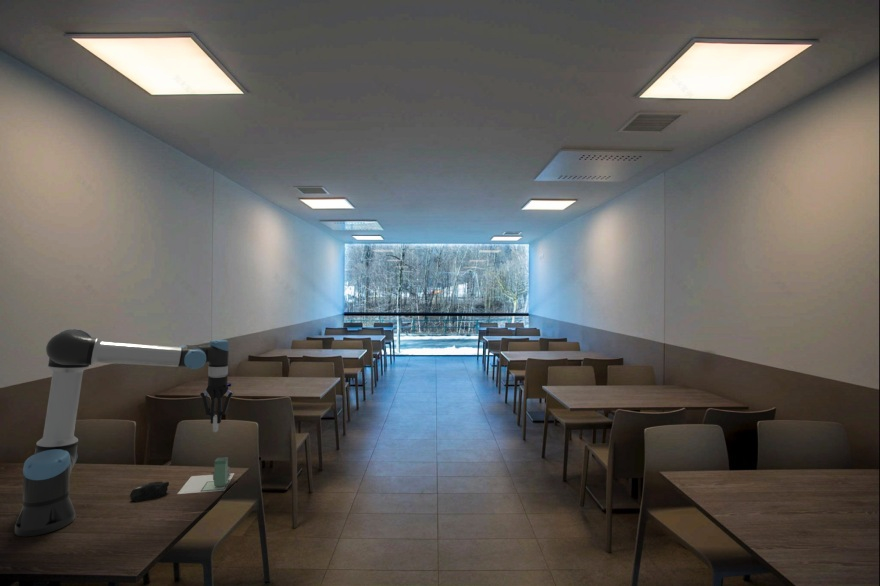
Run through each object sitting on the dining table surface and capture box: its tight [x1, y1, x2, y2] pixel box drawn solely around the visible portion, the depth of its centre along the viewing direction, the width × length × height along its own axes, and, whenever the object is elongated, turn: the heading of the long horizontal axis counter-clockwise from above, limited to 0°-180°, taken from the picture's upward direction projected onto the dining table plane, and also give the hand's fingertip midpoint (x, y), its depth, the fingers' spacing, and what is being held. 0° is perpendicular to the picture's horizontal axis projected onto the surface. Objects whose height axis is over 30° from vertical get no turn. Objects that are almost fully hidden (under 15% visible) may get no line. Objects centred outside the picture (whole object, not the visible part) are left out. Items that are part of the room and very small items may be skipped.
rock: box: [129, 481, 170, 503], centre depth 167 cm, size 10×9×6 cm
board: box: [177, 472, 235, 495], centre depth 180 cm, size 17×17×1 cm
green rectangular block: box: [213, 456, 229, 487], centre depth 177 cm, size 4×4×11 cm
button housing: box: [212, 466, 231, 480], centre depth 186 cm, size 5×5×3 cm
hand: (215, 430), depth 187 cm, fingers closed
